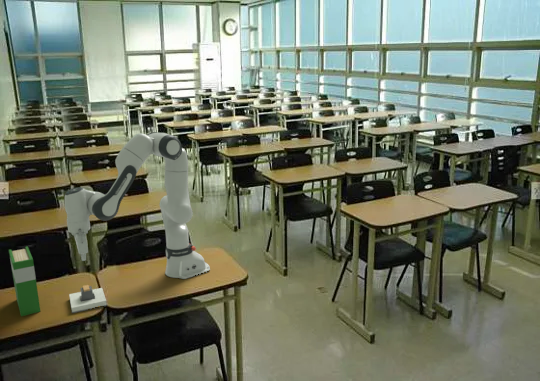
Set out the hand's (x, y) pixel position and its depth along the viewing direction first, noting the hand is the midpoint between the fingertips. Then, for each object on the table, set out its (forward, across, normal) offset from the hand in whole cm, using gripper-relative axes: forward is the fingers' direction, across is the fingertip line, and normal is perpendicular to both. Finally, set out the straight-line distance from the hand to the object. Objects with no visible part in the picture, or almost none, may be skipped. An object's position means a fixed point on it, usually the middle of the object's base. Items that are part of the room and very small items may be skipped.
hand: (82, 256), depth 202 cm
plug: (+21, 0, 0) cm, 21 cm away
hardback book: (+22, +9, +24) cm, 34 cm away
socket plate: (+22, 0, 0) cm, 22 cm away
